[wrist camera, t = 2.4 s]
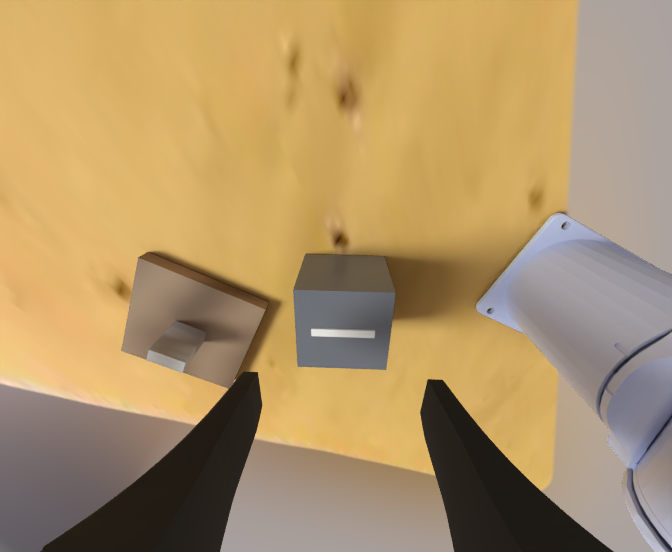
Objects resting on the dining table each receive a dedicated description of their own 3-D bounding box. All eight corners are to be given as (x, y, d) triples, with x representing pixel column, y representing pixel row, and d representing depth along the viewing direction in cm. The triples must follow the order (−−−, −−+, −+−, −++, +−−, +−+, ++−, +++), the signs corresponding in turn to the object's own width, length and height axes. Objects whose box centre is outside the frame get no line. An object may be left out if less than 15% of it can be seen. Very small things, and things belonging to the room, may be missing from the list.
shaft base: (269, 302, 21) (252, 338, 18) (234, 379, 25) (214, 423, 21) (147, 252, 20) (101, 279, 16) (129, 342, 24) (89, 382, 20)
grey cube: (384, 256, 19) (396, 293, 15) (377, 321, 22) (386, 370, 17) (305, 253, 20) (292, 290, 15) (307, 319, 22) (297, 367, 17)
